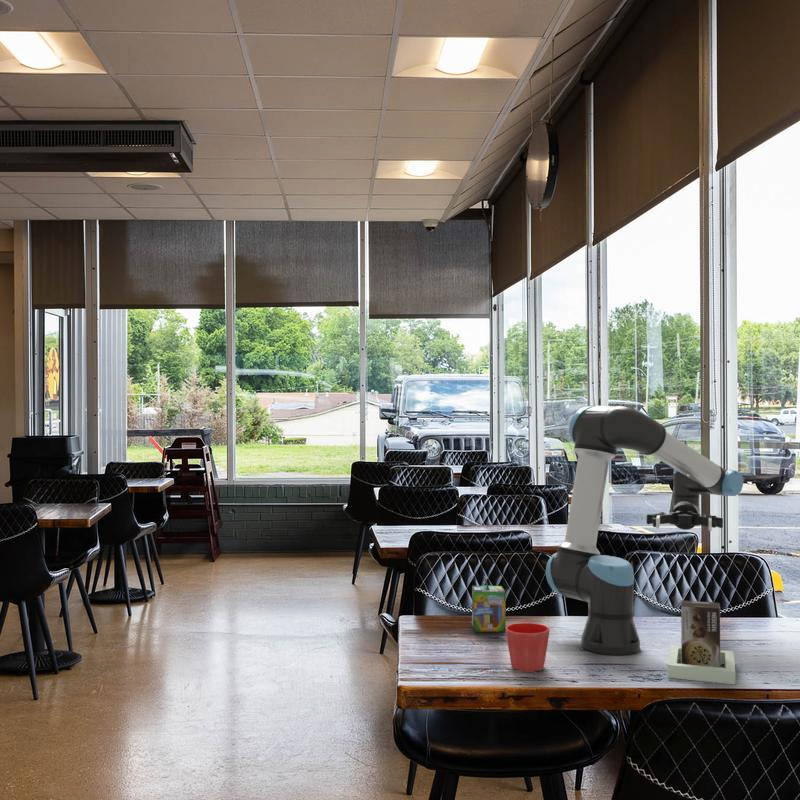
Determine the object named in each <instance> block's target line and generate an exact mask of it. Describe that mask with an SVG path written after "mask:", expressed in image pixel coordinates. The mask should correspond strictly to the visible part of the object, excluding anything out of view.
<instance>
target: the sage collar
mask: <svg viewBox="0 0 800 800" xmlns="http://www.w3.org/2000/svg"><path fill="white" fill-rule="evenodd" d="M669 647H670V648H669V652H668V653H669V654H668V660H667V672H666V673H667V677H666V678H670V679H677V680H678V679H680V680H688V681H695V682H696V681H697V682H698V681H699V682H706V683H716V682H717V684H726V685H736V665H735V655H734V651H732V650H722V649H720V654H721V665H722V664H725V665H724V667H721V668H719V667H709V666H698V665H688V664H681V663H679V661H681V645H680V646H678V645H670V646H669Z"/></svg>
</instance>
